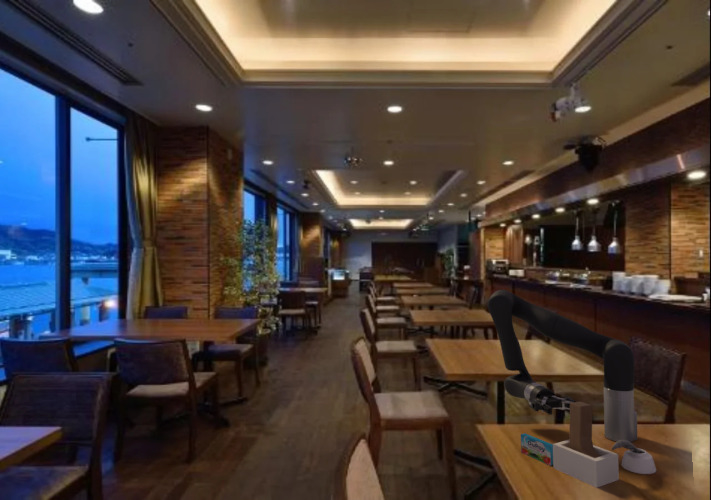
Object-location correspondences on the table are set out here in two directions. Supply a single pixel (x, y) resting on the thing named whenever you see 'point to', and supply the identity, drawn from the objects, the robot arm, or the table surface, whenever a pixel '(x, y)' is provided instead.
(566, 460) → the base block
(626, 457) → the inkwell
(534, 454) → the yogurt
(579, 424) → the wooden block
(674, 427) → the table surface
